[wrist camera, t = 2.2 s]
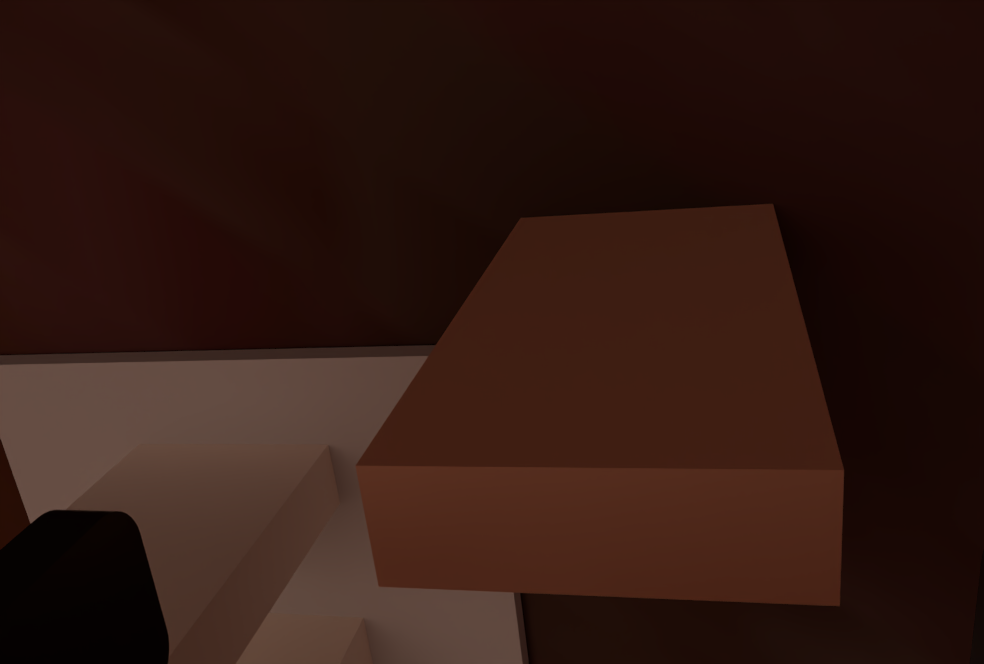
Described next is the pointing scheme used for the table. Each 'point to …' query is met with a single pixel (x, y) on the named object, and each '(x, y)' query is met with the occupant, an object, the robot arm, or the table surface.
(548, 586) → the terracotta domino
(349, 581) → the grey rubber mat
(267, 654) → the ivory domino
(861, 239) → the table surface
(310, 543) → the ivory domino
